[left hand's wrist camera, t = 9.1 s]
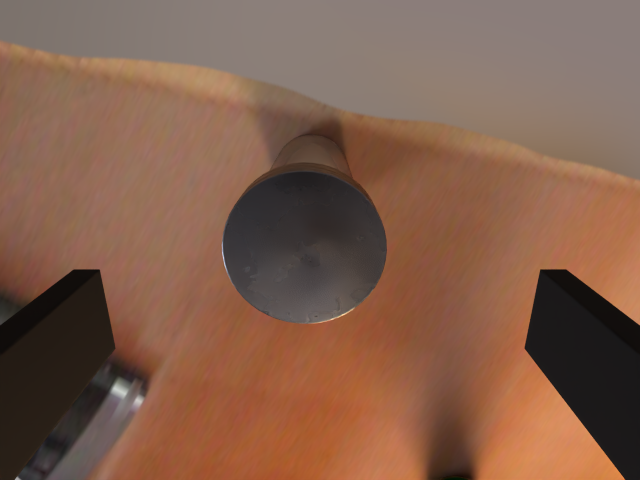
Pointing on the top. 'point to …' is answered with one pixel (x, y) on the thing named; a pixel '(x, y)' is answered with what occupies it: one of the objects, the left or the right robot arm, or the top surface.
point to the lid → (304, 243)
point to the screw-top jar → (312, 153)
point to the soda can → (454, 478)
